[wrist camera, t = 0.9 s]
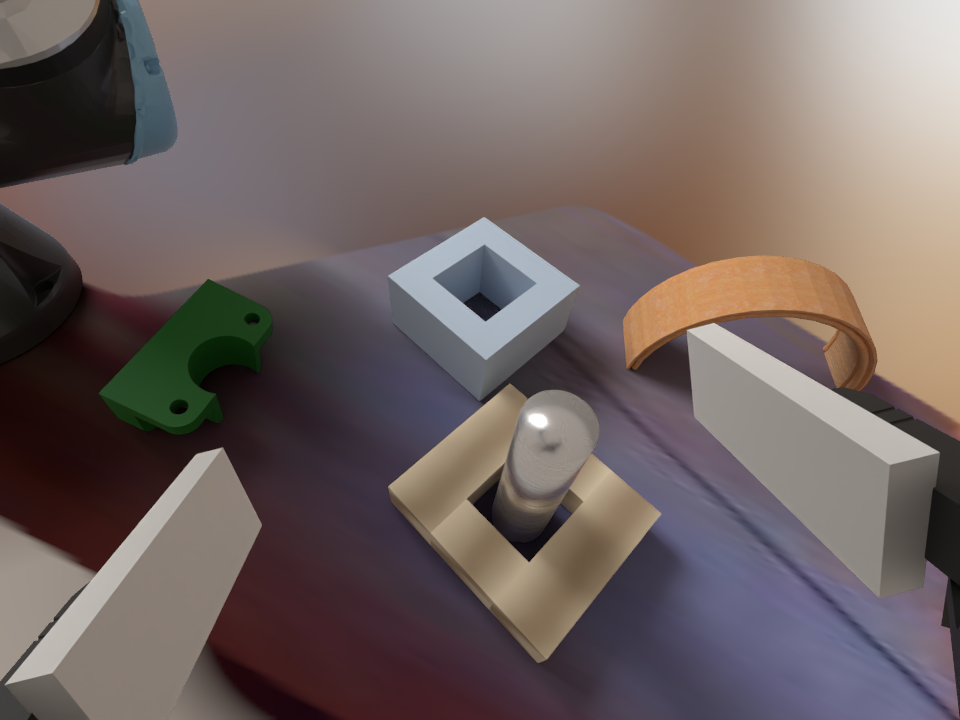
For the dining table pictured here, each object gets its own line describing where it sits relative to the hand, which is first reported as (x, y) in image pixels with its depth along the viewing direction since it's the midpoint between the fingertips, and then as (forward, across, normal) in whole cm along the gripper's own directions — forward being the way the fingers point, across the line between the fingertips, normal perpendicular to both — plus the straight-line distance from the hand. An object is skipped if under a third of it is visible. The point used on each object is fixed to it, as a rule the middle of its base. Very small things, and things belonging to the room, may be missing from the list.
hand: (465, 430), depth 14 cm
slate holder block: (+31, +1, -7) cm, 32 cm away
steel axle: (+17, +1, -17) cm, 24 cm away
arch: (+29, +23, -16) cm, 40 cm away
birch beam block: (+17, +1, -17) cm, 24 cm away
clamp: (+26, -21, -5) cm, 34 cm away
